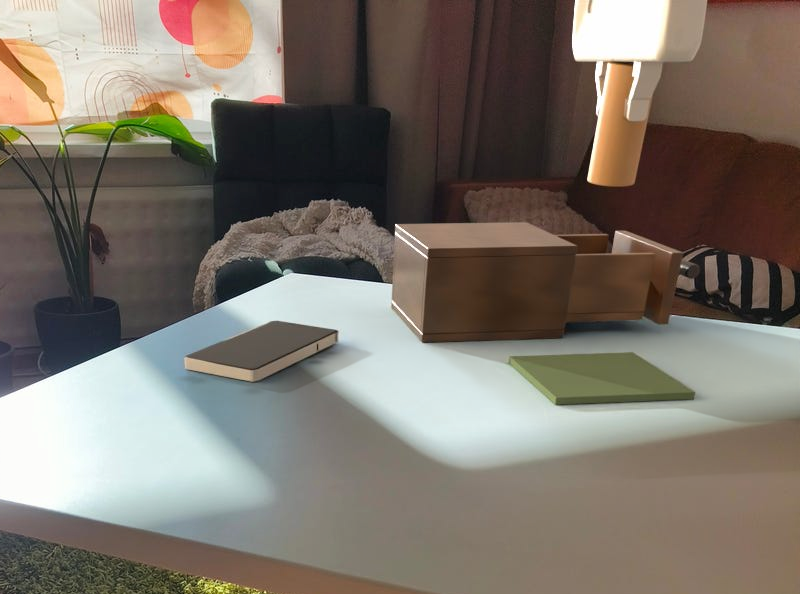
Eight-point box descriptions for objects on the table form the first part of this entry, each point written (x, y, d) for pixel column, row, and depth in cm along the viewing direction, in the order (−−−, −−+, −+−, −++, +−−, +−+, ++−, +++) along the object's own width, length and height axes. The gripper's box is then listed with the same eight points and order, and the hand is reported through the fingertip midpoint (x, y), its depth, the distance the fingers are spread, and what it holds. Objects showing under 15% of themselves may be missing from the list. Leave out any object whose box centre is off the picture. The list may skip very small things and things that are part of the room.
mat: (631, 358, 83) (632, 351, 83) (694, 399, 73) (695, 392, 73) (508, 362, 82) (509, 356, 82) (555, 404, 72) (556, 397, 72)
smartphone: (180, 356, 79) (272, 319, 90) (181, 370, 80) (272, 331, 91) (255, 370, 76) (342, 330, 86) (256, 384, 76) (341, 342, 87)
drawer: (649, 294, 102) (662, 229, 99) (707, 323, 91) (724, 251, 88) (500, 298, 100) (507, 232, 96) (541, 328, 89) (551, 255, 85)
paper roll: (623, 176, 91) (646, 60, 85) (641, 186, 88) (667, 65, 81) (580, 177, 91) (600, 60, 85) (597, 187, 87) (619, 66, 81)
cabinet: (516, 304, 101) (526, 222, 97) (563, 338, 89) (577, 245, 85) (391, 308, 100) (395, 224, 95) (421, 342, 88) (428, 248, 83)
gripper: (744, -78, 70) (704, 125, 77) (632, -51, 87) (608, 113, 94) (668, -79, 69) (635, 126, 77) (570, -52, 86) (551, 114, 94)
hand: (619, 119), depth 86 cm, fingers closed on paper roll, 5 cm apart
